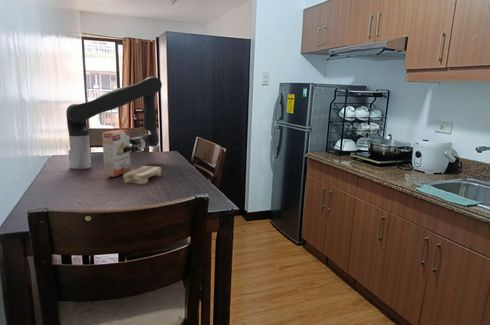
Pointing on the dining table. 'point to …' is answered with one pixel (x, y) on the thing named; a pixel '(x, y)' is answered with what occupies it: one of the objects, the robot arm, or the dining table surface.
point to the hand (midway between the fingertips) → (117, 149)
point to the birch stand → (141, 174)
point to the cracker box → (116, 152)
